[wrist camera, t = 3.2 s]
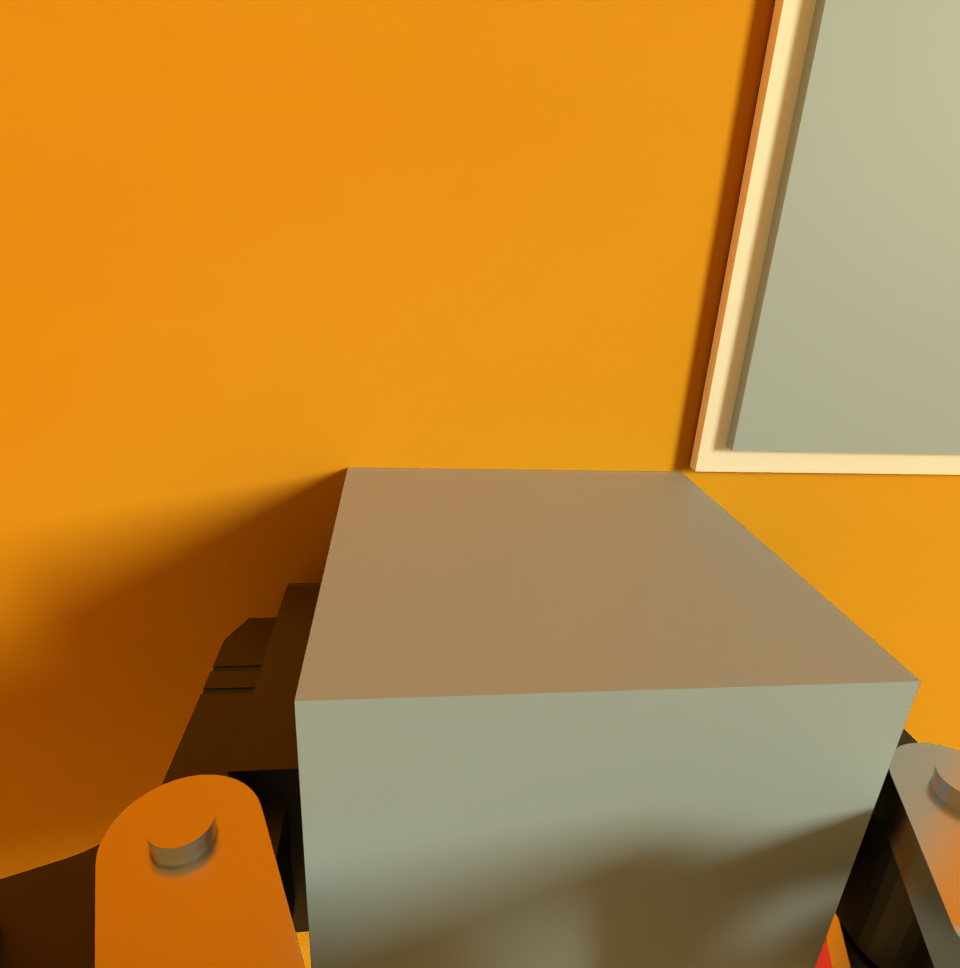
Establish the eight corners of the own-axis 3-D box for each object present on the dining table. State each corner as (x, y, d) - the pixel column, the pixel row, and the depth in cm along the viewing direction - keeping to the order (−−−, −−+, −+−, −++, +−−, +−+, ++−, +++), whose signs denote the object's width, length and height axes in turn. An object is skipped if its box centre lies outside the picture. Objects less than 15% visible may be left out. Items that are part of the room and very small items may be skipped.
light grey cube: (348, 465, 9) (295, 700, 5) (678, 469, 10) (921, 681, 5) (354, 738, 11) (320, 1101, 6) (633, 727, 12) (783, 1051, 7)
